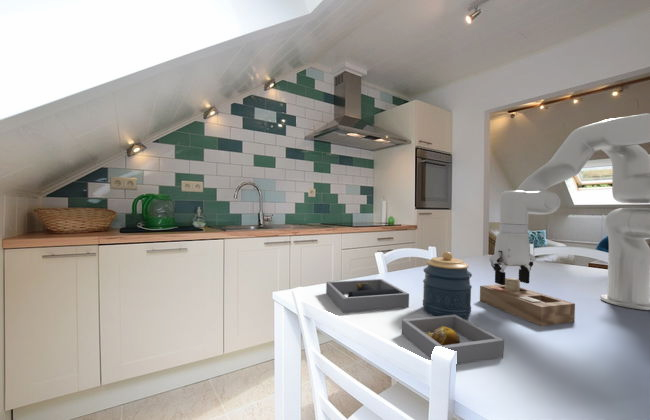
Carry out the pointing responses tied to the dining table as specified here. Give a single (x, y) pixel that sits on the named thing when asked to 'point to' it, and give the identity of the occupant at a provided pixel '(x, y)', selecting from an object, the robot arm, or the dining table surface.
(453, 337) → the fruit
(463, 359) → the fruit corral
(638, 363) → the dining table surface
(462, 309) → the canister
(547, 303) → the socket block
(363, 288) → the pipe connector
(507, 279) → the peg
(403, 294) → the tray
